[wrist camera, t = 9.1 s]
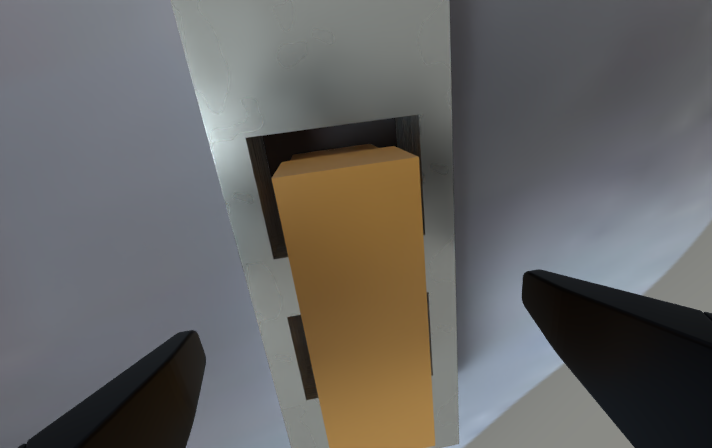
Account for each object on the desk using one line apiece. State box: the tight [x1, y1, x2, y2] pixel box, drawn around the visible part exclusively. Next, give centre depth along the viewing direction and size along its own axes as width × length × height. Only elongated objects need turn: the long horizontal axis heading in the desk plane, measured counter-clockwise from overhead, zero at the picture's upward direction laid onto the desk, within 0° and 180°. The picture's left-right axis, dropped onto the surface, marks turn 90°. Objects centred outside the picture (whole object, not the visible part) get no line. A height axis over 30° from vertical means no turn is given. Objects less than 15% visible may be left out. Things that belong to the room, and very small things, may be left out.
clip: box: [272, 144, 435, 448], centre depth 11 cm, size 8×3×6 cm, turn 7°
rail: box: [171, 0, 459, 448], centre depth 12 cm, size 18×7×3 cm, turn 7°
